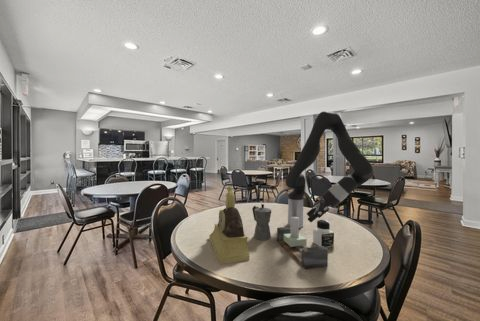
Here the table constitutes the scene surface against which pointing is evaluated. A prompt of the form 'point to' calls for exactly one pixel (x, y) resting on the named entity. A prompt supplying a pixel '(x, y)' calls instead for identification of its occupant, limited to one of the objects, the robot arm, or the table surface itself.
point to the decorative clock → (229, 234)
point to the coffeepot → (262, 222)
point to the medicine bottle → (323, 234)
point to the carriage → (294, 234)
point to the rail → (304, 252)
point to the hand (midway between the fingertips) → (308, 218)
